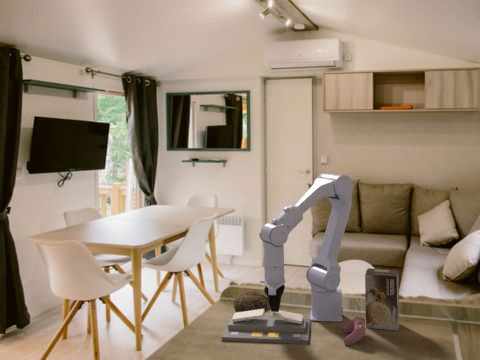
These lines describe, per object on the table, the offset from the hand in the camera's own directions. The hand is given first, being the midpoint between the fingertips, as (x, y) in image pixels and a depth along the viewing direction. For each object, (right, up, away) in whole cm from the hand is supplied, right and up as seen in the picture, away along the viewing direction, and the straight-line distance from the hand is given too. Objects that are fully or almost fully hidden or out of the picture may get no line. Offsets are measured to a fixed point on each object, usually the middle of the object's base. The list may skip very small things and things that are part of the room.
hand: (275, 310), depth 151 cm
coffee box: (+31, -5, +1) cm, 32 cm away
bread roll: (-6, -4, +21) cm, 22 cm away
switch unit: (-2, -6, 0) cm, 6 cm away
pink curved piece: (+21, -6, -7) cm, 23 cm away
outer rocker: (-8, -2, +2) cm, 8 cm away
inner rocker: (+3, -2, 0) cm, 4 cm away
